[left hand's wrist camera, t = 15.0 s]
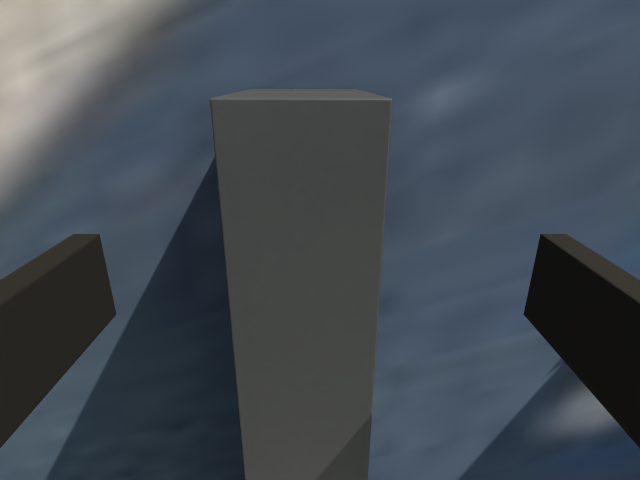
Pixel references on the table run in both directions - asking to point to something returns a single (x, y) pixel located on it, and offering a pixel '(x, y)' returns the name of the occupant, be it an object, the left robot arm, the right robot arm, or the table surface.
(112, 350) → the table surface
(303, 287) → the beam
